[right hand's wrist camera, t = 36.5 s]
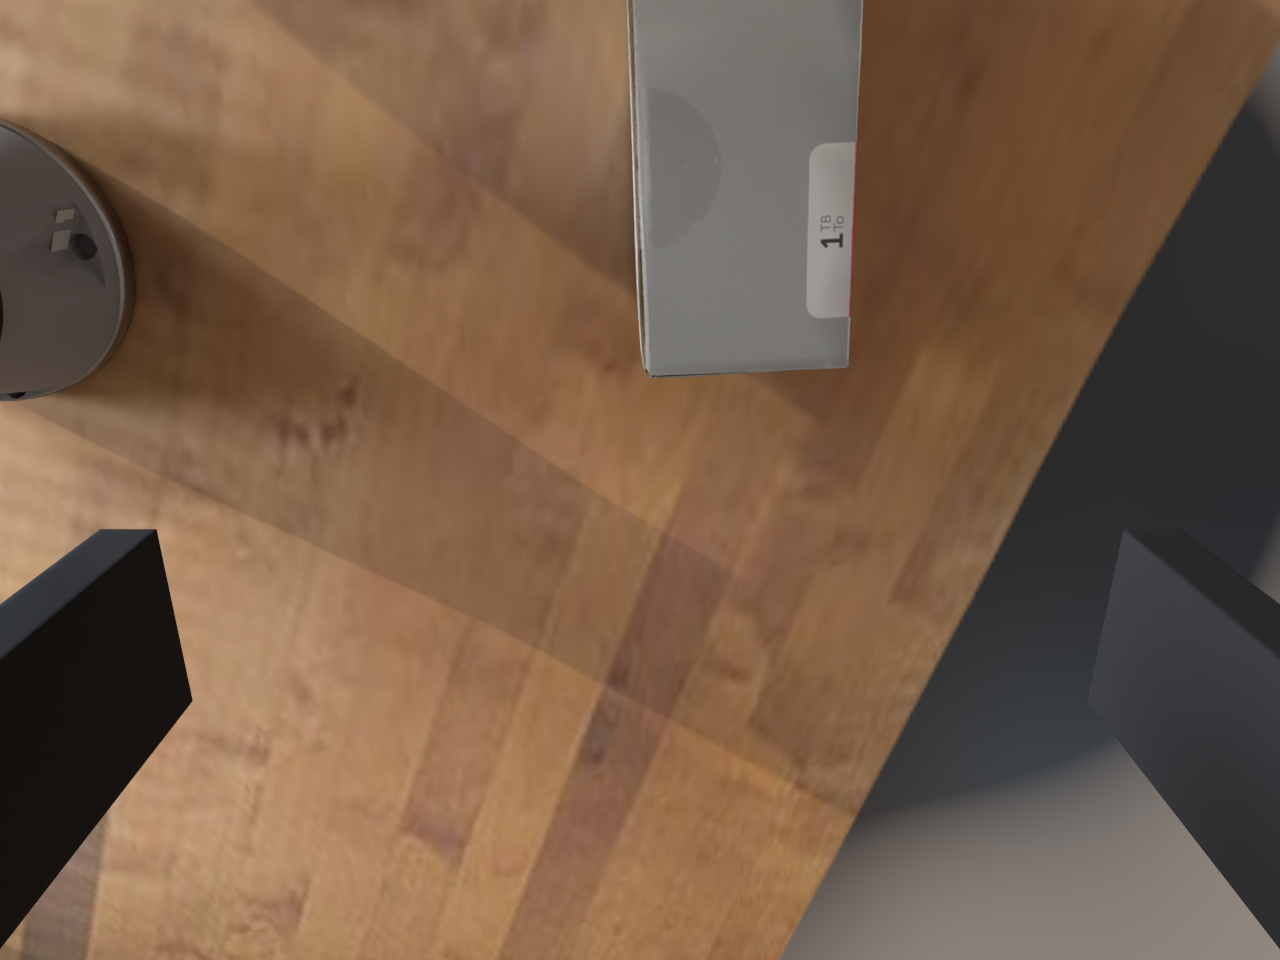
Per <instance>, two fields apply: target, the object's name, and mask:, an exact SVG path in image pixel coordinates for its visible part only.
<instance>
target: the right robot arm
mask: <svg viewBox="0 0 1280 960" xmlns="http://www.w3.org/2000/svg"><path fill="white" fill-rule="evenodd" d="M134 296H135V278H134V269H133V263H132V258H131V253H130V249H129V246H128V243H127V240H126V237H125V234H124V232H123V229H122V227H121V224H120V222H119V220H118V218H117V216H116V214H115V212H114V210H113V209H112V207H111V206H110V204H109V202H108V201H107V199H106V197H105V196H104V195H103V193H102V192H101V191H100V189H99V188H98V186H97V185H96V184H95V183H94V182H93V180H92V179H91V178H90V177H89V176H88V174H87V173H86V172H85V171H84V170H83V169H82V168H81V167H80V166H79V165H78V164H77V163H76V162H75V161H74V160H72V159H71V158H70V157H69V156H68V155H67V154H65V153H64V152H63V151H62V150H60V149H59V148H58V147H56V146H55V145H53V144H52V143H51V142H49V141H48V140H46V139H44V138H43V137H41V136H39V135H38V134H36V133H34V132H32V131H30V130H28V129H26V128H24V127H22V126H20V125H17V124H14V123H12V122H9V121H7V120H3V119H0V401H17V400H25V399H32V398H37V397H42V396H46V395H49V394H52V393H55V392H58V391H60V390H62V389H65V388H67V387H69V386H71V385H73V384H75V383H78V382H80V381H82V380H84V379H85V378H87V377H89V376H90V375H92V374H93V373H94V372H96V371H97V370H98V369H100V368H101V367H102V366H103V365H104V364H105V363H106V362H107V361H108V360H109V359H110V358H111V356H112V355H113V354H114V353H115V351H116V350H117V348H118V347H119V345H120V343H121V342H122V340H123V338H124V336H125V333H126V331H127V329H128V326H129V323H130V320H131V316H132V311H133V306H134ZM191 702H192V696H191V691H190V686H189V682H188V677H187V672H186V667H185V663H184V658H183V653H182V648H181V644H180V639H179V634H178V629H177V625H176V620H175V615H174V610H173V606H172V601H171V596H170V591H169V587H168V582H167V577H166V572H165V568H164V563H163V558H162V553H161V549H160V544H159V539H158V534H157V530H156V529H100V530H99V531H97V532H96V533H95V534H93V535H92V536H91V537H89V538H88V539H87V540H85V541H84V542H83V543H81V544H80V545H79V546H77V547H76V548H75V549H73V550H72V551H71V552H69V553H68V554H67V555H65V556H64V557H63V558H61V559H60V560H59V561H57V562H56V563H55V564H53V565H52V566H51V567H49V568H48V569H47V570H45V571H44V572H43V573H41V574H40V575H39V576H37V577H36V578H35V579H33V580H32V581H31V582H29V583H28V584H27V585H25V586H24V587H23V588H21V589H20V590H19V591H17V592H16V593H15V594H13V595H12V596H11V597H9V598H8V599H7V600H5V601H4V602H3V603H1V604H0V948H1V947H2V946H3V945H4V943H5V942H6V941H7V939H8V938H9V937H10V936H11V934H12V933H13V932H14V930H15V929H16V928H17V927H18V925H19V924H20V923H21V921H22V920H23V919H24V918H25V916H26V915H27V914H28V912H29V911H30V910H31V908H32V907H33V906H34V905H35V903H36V902H37V901H38V899H39V898H40V897H41V896H42V894H43V893H44V892H45V890H46V889H47V888H48V887H49V885H50V884H51V883H52V881H53V880H54V879H55V878H56V876H57V875H58V874H59V872H60V871H61V870H62V869H63V867H64V866H65V865H66V863H67V862H68V861H69V860H70V858H71V857H72V856H73V854H74V853H75V852H76V850H77V849H78V848H79V847H80V845H81V844H82V843H83V841H84V840H85V839H86V838H87V836H88V835H89V834H90V832H91V831H92V830H93V829H94V827H95V826H96V825H97V823H98V822H99V821H100V820H101V818H102V817H103V816H104V814H105V813H106V812H107V811H108V809H109V808H110V807H111V805H112V804H113V803H114V801H115V800H116V799H117V798H118V796H119V795H120V794H121V792H122V791H123V790H124V789H125V787H126V786H127V785H128V783H129V782H130V781H131V780H132V778H133V777H134V776H135V774H136V773H137V772H138V771H139V769H140V768H141V767H142V765H143V764H144V763H145V762H146V760H147V759H148V758H149V756H150V755H151V754H152V753H153V751H154V750H155V749H156V747H157V746H158V745H159V743H160V742H161V741H162V740H163V738H164V737H165V736H166V734H167V733H168V732H169V731H170V729H171V728H172V727H173V725H174V724H175V723H176V722H177V720H178V719H179V718H180V716H181V715H182V714H183V713H184V711H185V710H186V709H187V707H188V706H189V705H190V704H191ZM1088 702H1089V704H1090V705H1091V706H1092V707H1093V709H1094V710H1095V711H1096V712H1097V714H1098V715H1099V716H1100V718H1101V719H1102V720H1103V722H1104V723H1105V724H1106V725H1107V727H1108V728H1109V729H1110V731H1111V732H1112V733H1113V734H1114V736H1115V737H1116V738H1117V740H1118V741H1119V742H1120V743H1121V745H1122V746H1123V747H1124V749H1125V750H1126V751H1127V752H1128V754H1129V755H1130V756H1131V758H1132V759H1133V760H1134V762H1135V763H1136V764H1137V765H1138V767H1139V768H1140V769H1141V770H1142V772H1143V773H1144V774H1145V776H1146V777H1147V778H1148V780H1149V781H1150V782H1151V783H1152V785H1153V786H1154V787H1155V789H1156V790H1157V791H1158V792H1159V794H1160V795H1161V796H1162V798H1163V799H1164V800H1165V801H1166V803H1167V804H1168V805H1169V807H1170V808H1171V809H1172V811H1173V812H1174V813H1175V814H1176V816H1177V817H1178V818H1179V820H1180V821H1181V822H1182V823H1183V825H1184V826H1185V827H1186V829H1187V830H1188V831H1189V832H1190V834H1191V835H1192V836H1193V838H1194V839H1195V840H1196V841H1197V843H1198V844H1199V845H1200V847H1201V848H1202V849H1203V850H1204V852H1205V853H1206V854H1207V856H1208V857H1209V858H1210V859H1211V861H1212V862H1213V863H1214V865H1215V866H1216V867H1217V868H1218V870H1219V871H1220V872H1221V874H1222V875H1223V876H1224V878H1225V879H1226V880H1227V881H1228V883H1229V884H1230V885H1231V887H1232V888H1233V889H1234V890H1235V892H1236V893H1237V894H1238V896H1239V897H1240V898H1241V899H1242V901H1243V902H1244V903H1245V905H1246V906H1247V907H1248V908H1249V910H1250V911H1251V912H1252V914H1253V915H1254V916H1255V918H1256V919H1257V920H1258V921H1259V923H1260V924H1261V925H1262V927H1263V928H1264V929H1265V930H1266V932H1267V933H1268V934H1269V936H1270V937H1271V938H1272V939H1273V941H1274V942H1275V943H1276V945H1277V946H1278V947H1279V948H1280V604H1279V603H1277V602H1276V601H1275V600H1273V599H1272V598H1271V597H1269V596H1268V595H1267V594H1265V593H1264V592H1263V591H1261V590H1260V589H1259V588H1257V587H1256V586H1255V585H1253V584H1252V583H1251V582H1249V581H1248V580H1247V579H1245V578H1244V577H1243V576H1241V575H1240V574H1239V573H1237V572H1236V571H1235V570H1233V569H1232V568H1231V567H1229V566H1228V565H1227V564H1225V563H1224V562H1223V561H1221V560H1220V559H1219V558H1217V557H1216V556H1215V555H1213V554H1212V553H1211V552H1209V551H1208V550H1207V549H1205V548H1204V547H1203V546H1201V545H1200V544H1199V543H1197V542H1196V541H1195V540H1193V539H1192V538H1191V537H1189V536H1188V535H1187V534H1185V533H1184V532H1183V531H1181V530H1180V529H1124V530H1123V534H1122V539H1121V544H1120V549H1119V554H1118V558H1117V563H1116V568H1115V573H1114V577H1113V582H1112V587H1111V591H1110V596H1109V601H1108V606H1107V610H1106V615H1105V620H1104V625H1103V629H1102V634H1101V639H1100V644H1099V648H1098V653H1097V658H1096V663H1095V667H1094V672H1093V677H1092V682H1091V687H1090V691H1089V696H1088Z"/></svg>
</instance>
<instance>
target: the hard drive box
mask: <svg viewBox="0 0 1280 960" xmlns="http://www.w3.org/2000/svg"><path fill="white" fill-rule="evenodd" d="M862 20H863V0H627V27H628V53H629V79H630V108H631V137H632V165H633V199H634V233H635V261H636V286H637V300H638V320H639V332H640V347H641V356H642V363H643V367H644V369H645V371H646V372H647V374H648V377H649V378H677V377H695V376H711V375H730V374H743V373H759V372H776V371H790V370H815V369H833V368H847V367H848V366H849V339H850V320H851V300H852V277H853V255H854V232H855V195H856V162H857V122H858V99H859V82H860V66H861V47H862Z"/></svg>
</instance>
